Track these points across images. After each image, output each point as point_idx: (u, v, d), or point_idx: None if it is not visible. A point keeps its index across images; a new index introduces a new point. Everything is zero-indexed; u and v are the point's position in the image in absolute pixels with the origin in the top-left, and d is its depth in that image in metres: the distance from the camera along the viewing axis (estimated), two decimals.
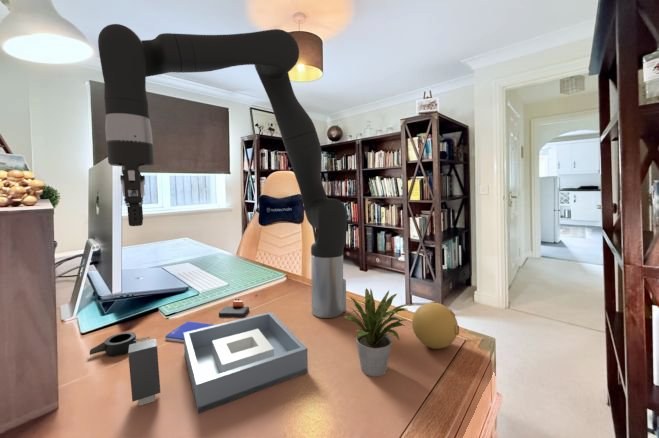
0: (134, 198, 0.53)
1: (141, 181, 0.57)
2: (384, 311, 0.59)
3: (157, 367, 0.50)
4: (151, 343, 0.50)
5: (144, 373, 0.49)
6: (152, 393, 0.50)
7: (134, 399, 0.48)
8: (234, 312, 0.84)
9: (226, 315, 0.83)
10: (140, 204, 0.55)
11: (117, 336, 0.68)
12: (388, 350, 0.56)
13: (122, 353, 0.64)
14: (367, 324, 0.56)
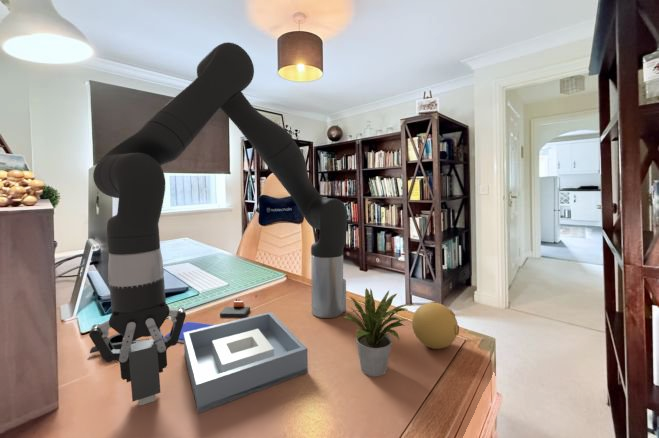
0: None
1: None
2: (384, 311, 0.59)
3: (157, 367, 0.50)
4: (151, 343, 0.50)
5: (144, 373, 0.49)
6: (152, 393, 0.50)
7: (134, 399, 0.48)
8: (235, 312, 0.83)
9: (227, 316, 0.83)
10: None
11: (118, 336, 0.68)
12: (388, 350, 0.56)
13: None
14: (367, 324, 0.56)
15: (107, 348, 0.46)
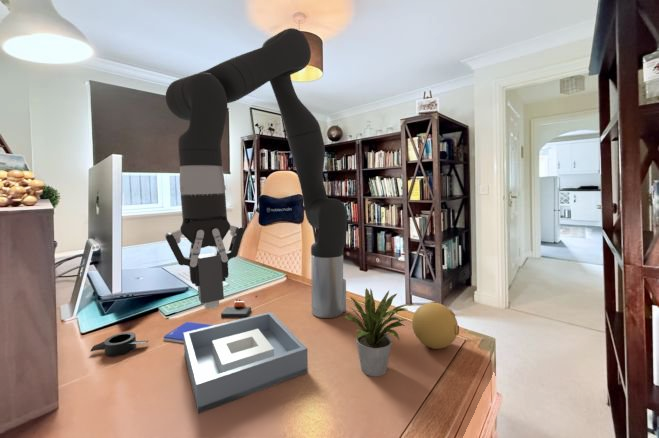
0: None
1: None
2: (384, 311, 0.59)
3: (221, 275, 0.55)
4: (215, 254, 0.56)
5: (211, 279, 0.54)
6: (217, 298, 0.55)
7: (202, 301, 0.54)
8: (237, 313, 0.83)
9: (228, 316, 0.83)
10: None
11: (120, 335, 0.68)
12: (388, 350, 0.56)
13: (117, 354, 0.64)
14: (367, 324, 0.56)
15: (180, 252, 0.51)
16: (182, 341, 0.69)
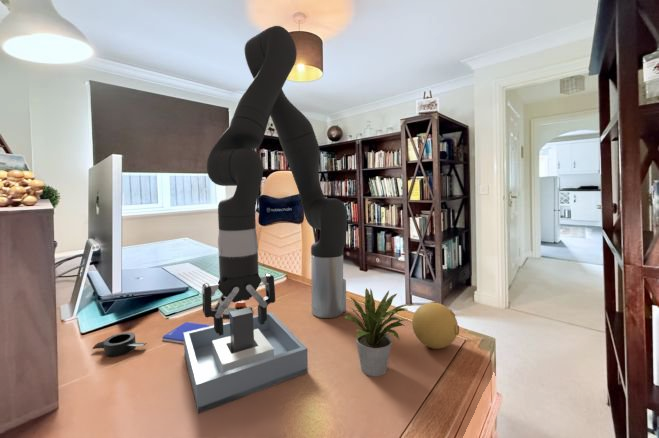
0: None
1: None
2: (384, 311, 0.59)
3: (252, 330, 0.60)
4: (247, 310, 0.61)
5: (243, 335, 0.59)
6: None
7: None
8: None
9: None
10: None
11: (122, 335, 0.68)
12: (388, 350, 0.56)
13: (113, 355, 0.64)
14: (367, 324, 0.56)
15: (210, 305, 0.56)
16: (181, 341, 0.69)
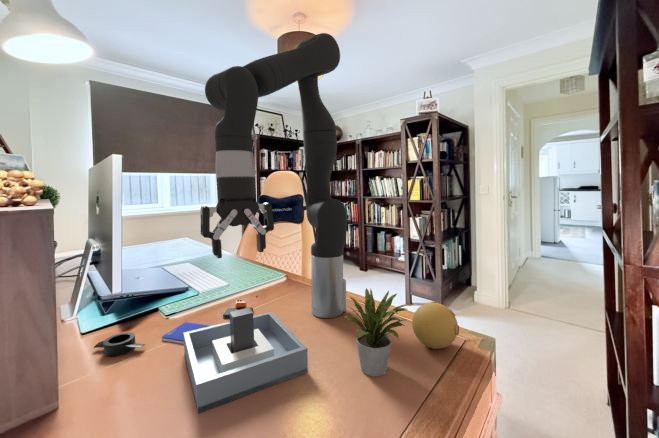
0: None
1: None
2: (384, 311, 0.59)
3: (253, 330, 0.60)
4: (247, 310, 0.61)
5: (243, 335, 0.59)
6: None
7: None
8: None
9: None
10: None
11: (122, 335, 0.68)
12: (388, 350, 0.56)
13: (111, 355, 0.64)
14: (367, 324, 0.56)
15: (208, 225, 0.56)
16: (180, 341, 0.69)
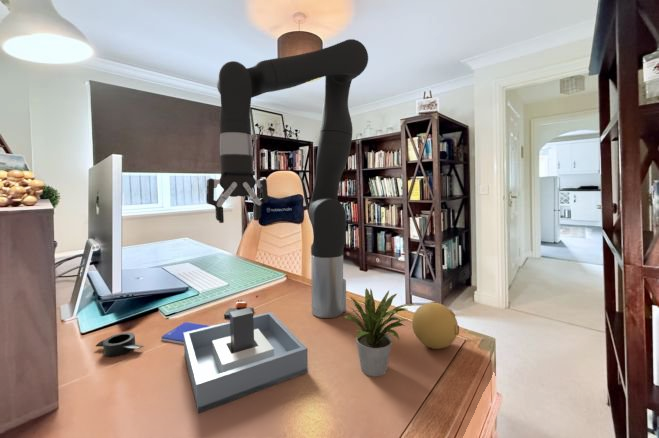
0: None
1: None
2: (384, 311, 0.59)
3: (253, 330, 0.60)
4: (247, 310, 0.61)
5: (243, 335, 0.59)
6: None
7: None
8: None
9: None
10: None
11: (123, 335, 0.68)
12: (388, 350, 0.56)
13: (110, 356, 0.63)
14: (367, 324, 0.56)
15: (213, 194, 0.67)
16: (179, 342, 0.69)
